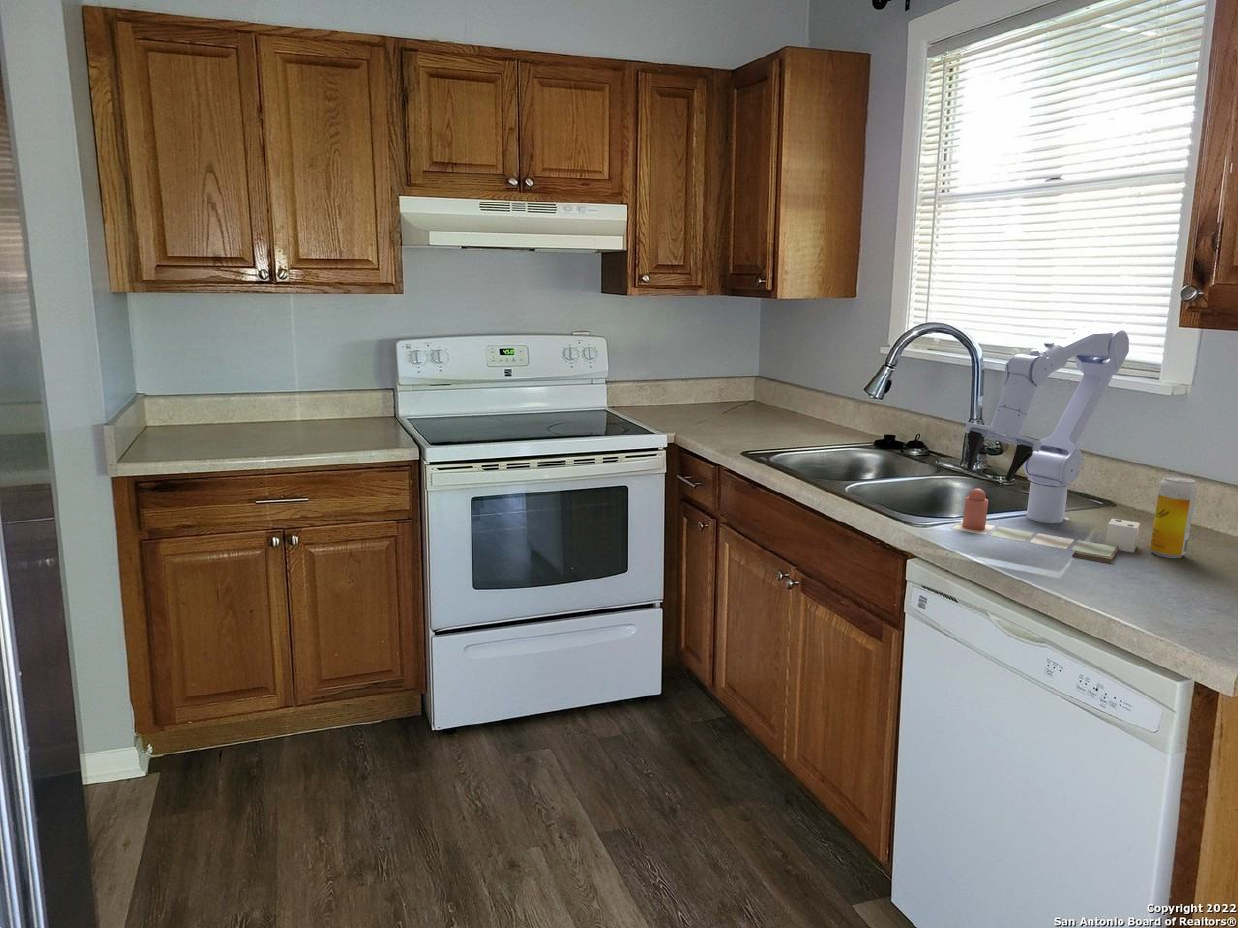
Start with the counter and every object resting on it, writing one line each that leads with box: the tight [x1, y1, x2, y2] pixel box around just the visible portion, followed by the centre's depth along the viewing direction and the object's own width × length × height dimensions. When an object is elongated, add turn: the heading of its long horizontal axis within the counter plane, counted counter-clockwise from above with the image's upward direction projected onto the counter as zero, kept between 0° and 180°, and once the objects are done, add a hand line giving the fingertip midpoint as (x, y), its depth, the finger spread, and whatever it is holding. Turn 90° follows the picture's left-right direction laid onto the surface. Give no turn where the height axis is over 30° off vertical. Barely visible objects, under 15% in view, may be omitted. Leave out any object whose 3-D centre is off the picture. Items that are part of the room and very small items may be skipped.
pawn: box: [962, 488, 989, 530], centre depth 192 cm, size 4×4×8 cm
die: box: [1104, 518, 1141, 553], centre depth 185 cm, size 5×5×5 cm
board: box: [950, 519, 1120, 564], centre depth 186 cm, size 10×30×1 cm, turn 55°
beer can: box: [1149, 475, 1198, 559], centre depth 180 cm, size 6×6×15 cm
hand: (988, 475), depth 188 cm, fingers open, 7 cm apart
